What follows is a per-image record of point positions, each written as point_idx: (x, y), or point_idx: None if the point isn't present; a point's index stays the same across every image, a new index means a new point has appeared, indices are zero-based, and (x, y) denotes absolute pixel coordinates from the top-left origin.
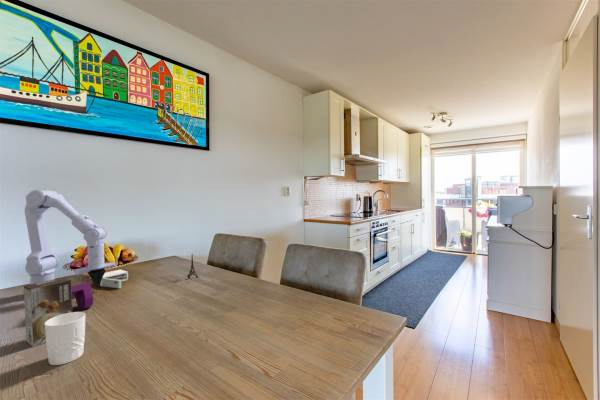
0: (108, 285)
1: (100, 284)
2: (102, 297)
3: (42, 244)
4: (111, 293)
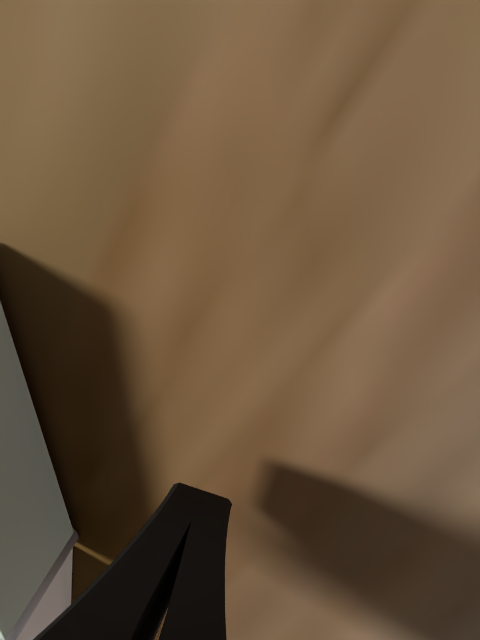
0: (35, 468)
1: (64, 589)
2: (416, 76)
3: None
4: (176, 143)
